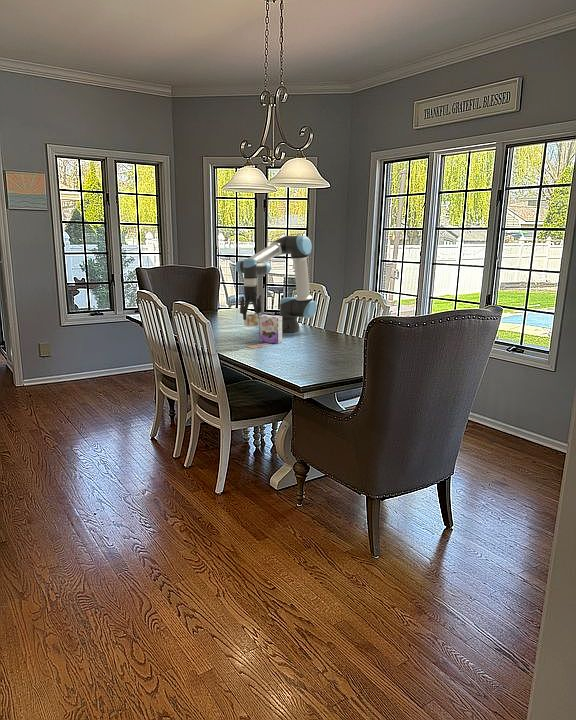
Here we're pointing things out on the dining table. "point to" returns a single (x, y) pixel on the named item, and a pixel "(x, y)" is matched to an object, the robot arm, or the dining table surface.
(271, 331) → the candy box
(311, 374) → the dining table surface
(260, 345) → the grey tile
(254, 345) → the terracotta tile
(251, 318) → the cube
